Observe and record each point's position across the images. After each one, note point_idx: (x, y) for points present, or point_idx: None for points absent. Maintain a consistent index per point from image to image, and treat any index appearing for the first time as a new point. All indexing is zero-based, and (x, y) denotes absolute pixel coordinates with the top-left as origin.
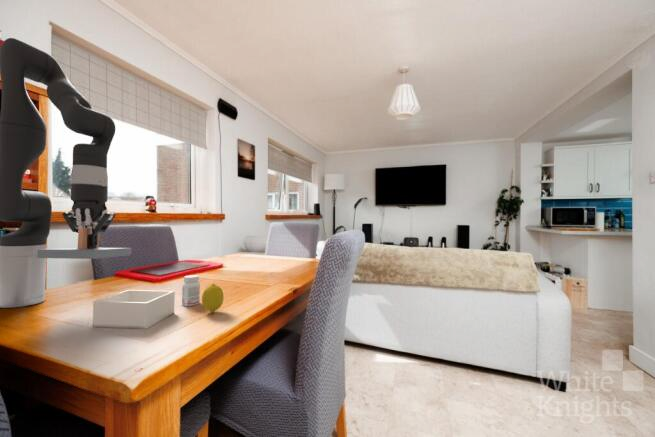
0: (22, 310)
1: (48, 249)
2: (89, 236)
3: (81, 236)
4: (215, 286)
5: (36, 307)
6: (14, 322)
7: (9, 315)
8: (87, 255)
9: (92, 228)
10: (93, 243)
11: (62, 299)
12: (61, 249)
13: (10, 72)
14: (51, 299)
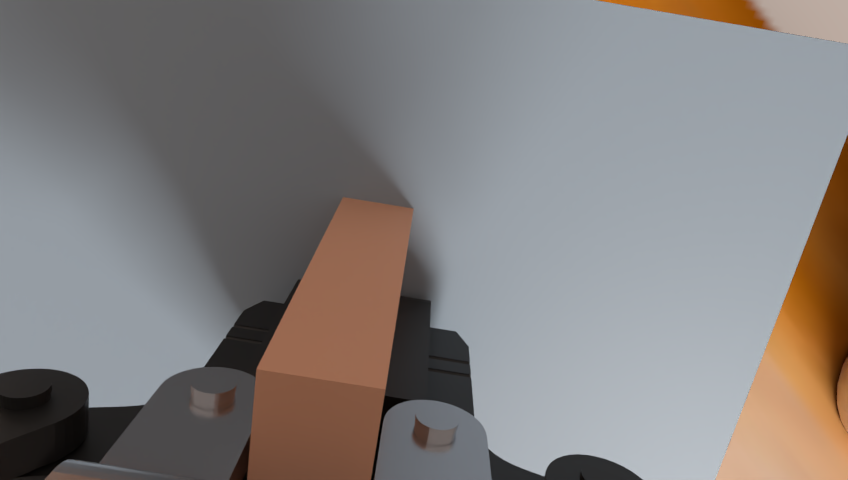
0: (837, 243)
1: (719, 49)
2: (250, 362)
3: (331, 279)
4: None
5: (796, 297)
6: (715, 18)
7: (843, 152)
8: None
9: (115, 452)
10: (234, 324)
11: (754, 450)
12: (540, 68)
13: None
14: (822, 454)
